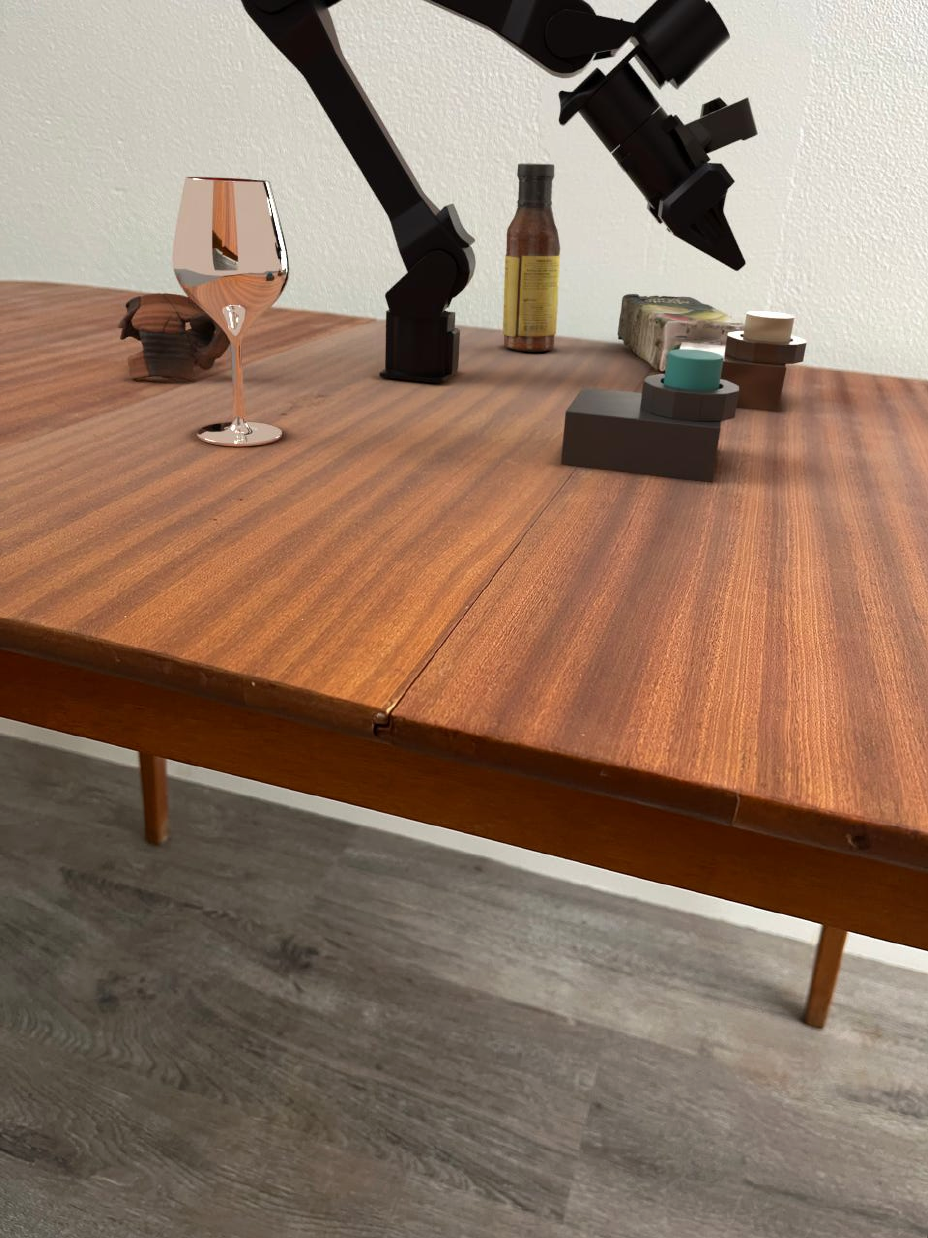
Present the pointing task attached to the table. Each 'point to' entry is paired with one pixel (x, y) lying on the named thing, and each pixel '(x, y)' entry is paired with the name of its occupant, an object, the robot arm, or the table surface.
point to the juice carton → (670, 325)
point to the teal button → (693, 369)
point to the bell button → (768, 326)
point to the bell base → (755, 367)
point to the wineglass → (231, 275)
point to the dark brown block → (648, 429)
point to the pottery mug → (171, 336)
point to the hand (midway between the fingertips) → (741, 267)
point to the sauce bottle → (532, 264)
